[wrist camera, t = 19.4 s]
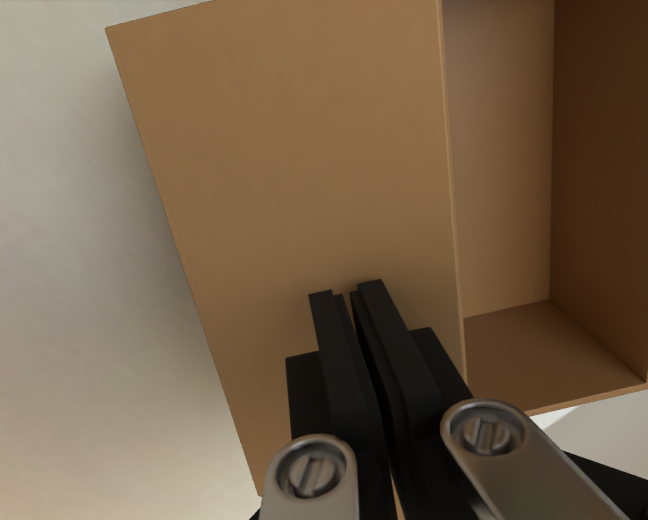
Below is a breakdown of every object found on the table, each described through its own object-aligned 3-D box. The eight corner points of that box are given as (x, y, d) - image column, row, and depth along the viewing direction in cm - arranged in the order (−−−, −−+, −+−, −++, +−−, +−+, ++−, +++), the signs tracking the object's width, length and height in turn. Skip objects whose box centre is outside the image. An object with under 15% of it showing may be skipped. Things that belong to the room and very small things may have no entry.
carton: (258, 365, 23) (258, 479, 17) (163, 32, 17) (112, 26, 11) (551, 300, 24) (653, 388, 18) (558, -43, 18) (715, -89, 12)
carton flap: (262, 488, 17) (257, 495, 17) (113, 26, 11) (103, 28, 11) (479, 548, 14) (477, 558, 13) (438, -55, 8) (433, -57, 7)
